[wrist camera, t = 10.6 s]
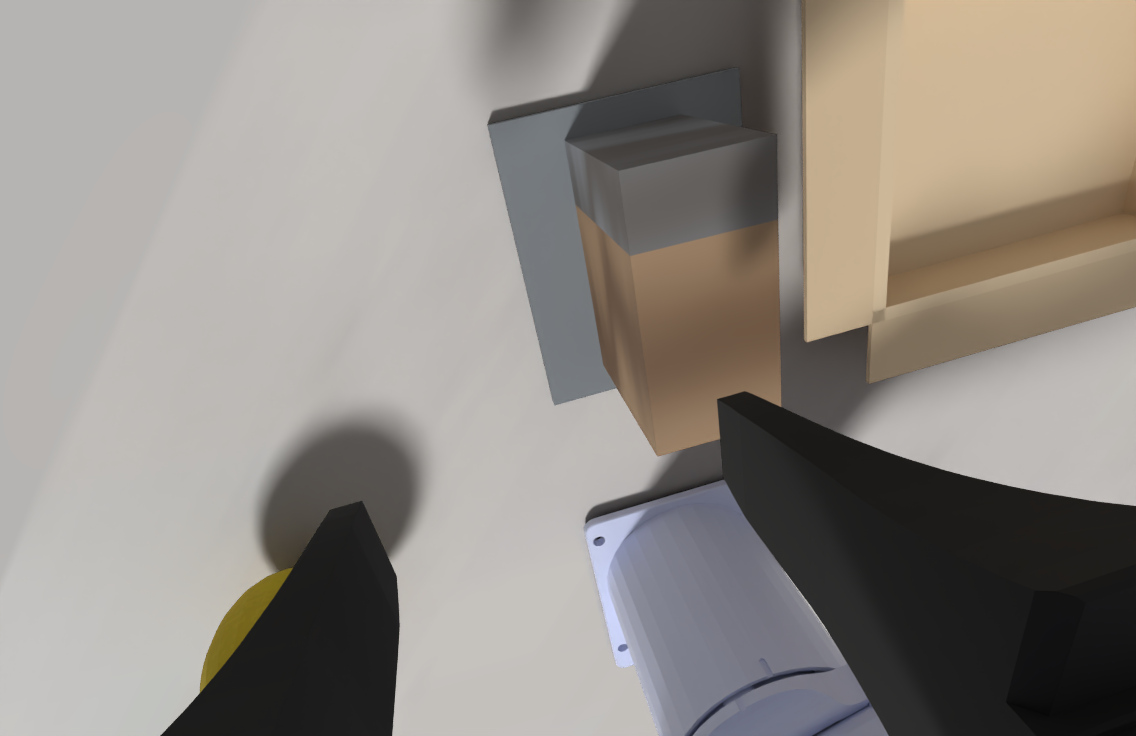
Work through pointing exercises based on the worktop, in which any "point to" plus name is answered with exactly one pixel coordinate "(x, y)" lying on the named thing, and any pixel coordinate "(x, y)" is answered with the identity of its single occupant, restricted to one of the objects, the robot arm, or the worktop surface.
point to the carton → (966, 172)
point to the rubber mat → (550, 216)
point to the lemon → (240, 623)
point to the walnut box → (682, 268)
